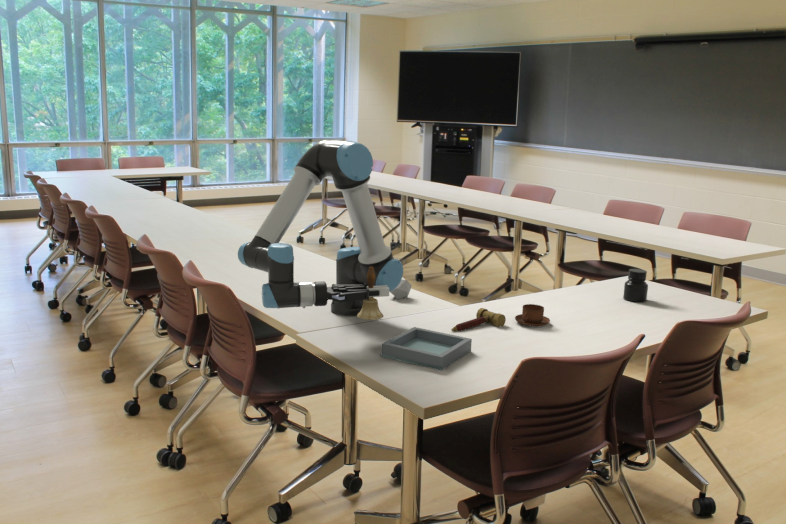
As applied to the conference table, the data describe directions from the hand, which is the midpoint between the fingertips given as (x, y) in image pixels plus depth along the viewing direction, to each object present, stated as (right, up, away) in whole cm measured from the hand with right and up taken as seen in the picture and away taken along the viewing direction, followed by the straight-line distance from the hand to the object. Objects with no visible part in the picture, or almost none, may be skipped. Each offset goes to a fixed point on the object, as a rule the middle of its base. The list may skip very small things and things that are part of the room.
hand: (387, 290), depth 222 cm
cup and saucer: (+50, -13, +25) cm, 58 cm away
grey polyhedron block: (+4, -5, +53) cm, 54 cm away
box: (+12, -19, -9) cm, 24 cm away
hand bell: (-6, -8, 0) cm, 10 cm away
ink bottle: (+99, -6, +62) cm, 116 cm away
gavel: (+29, -14, +20) cm, 38 cm away
